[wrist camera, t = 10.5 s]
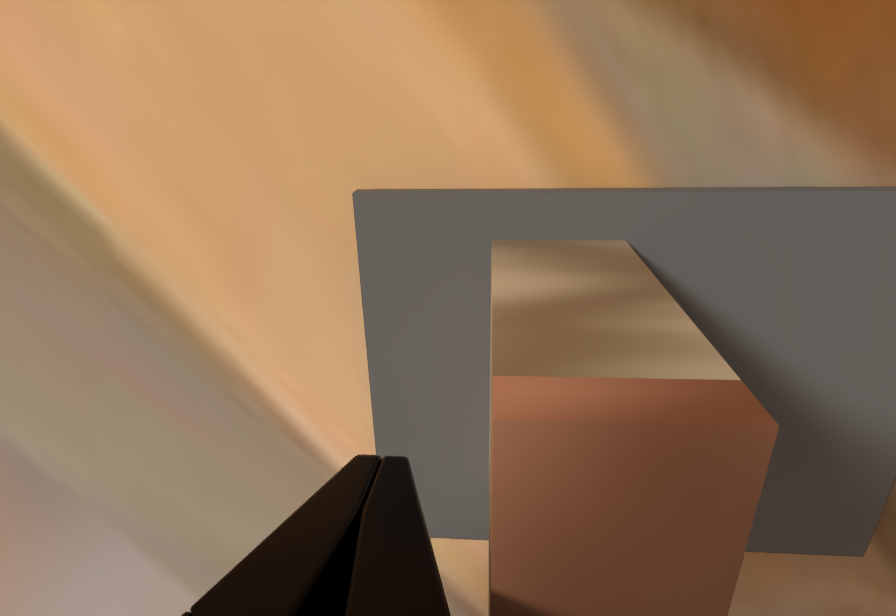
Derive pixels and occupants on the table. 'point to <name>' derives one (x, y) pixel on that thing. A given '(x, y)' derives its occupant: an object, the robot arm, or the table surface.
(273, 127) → the table surface
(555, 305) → the birch block
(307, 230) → the table surface
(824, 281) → the felt mat
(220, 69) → the table surface
